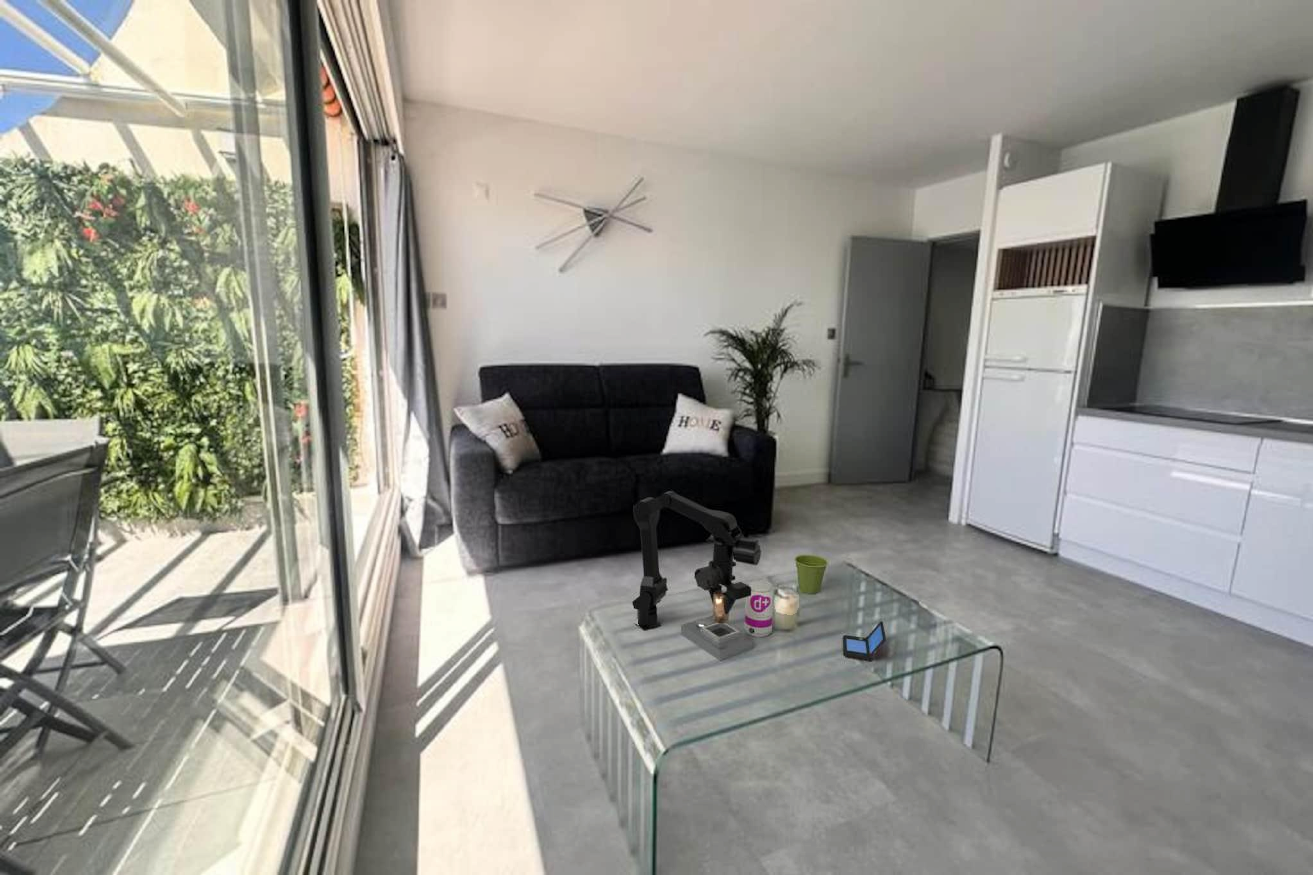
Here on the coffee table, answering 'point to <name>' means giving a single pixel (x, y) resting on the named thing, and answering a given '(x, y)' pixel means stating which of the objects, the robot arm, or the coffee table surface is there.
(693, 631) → the grey socket plate
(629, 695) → the coffee table surface
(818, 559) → the plant pot
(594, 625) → the coffee table surface
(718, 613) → the copper tin
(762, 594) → the supplement can
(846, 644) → the handheld game console
